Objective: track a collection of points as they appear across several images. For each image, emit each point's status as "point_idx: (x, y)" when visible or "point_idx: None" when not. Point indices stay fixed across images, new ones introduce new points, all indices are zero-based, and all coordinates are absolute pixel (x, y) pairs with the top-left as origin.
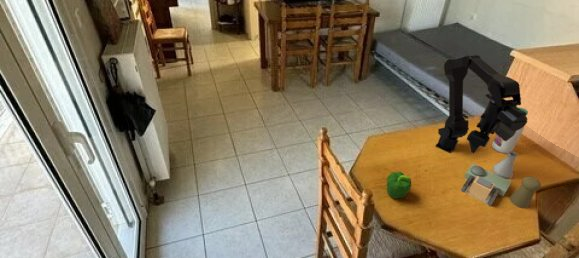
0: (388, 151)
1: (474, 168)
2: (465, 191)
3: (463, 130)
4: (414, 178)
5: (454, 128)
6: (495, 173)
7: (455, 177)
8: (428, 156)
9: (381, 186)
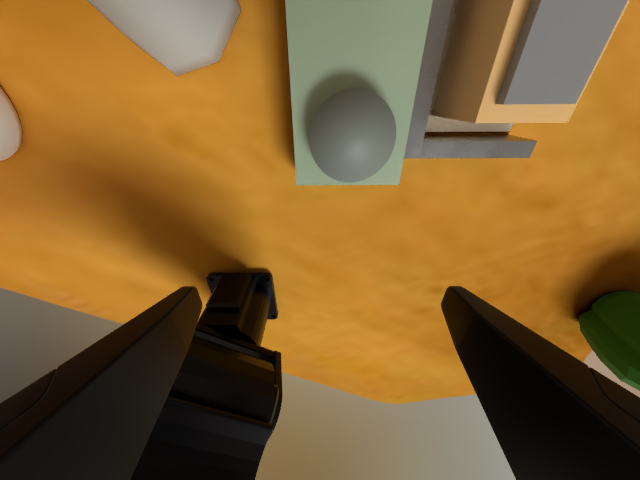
0: (406, 374)
1: (353, 164)
2: (506, 127)
3: (203, 408)
4: (501, 298)
5: (259, 452)
6: (230, 34)
7: (414, 202)
8: (350, 309)
9: (580, 338)
